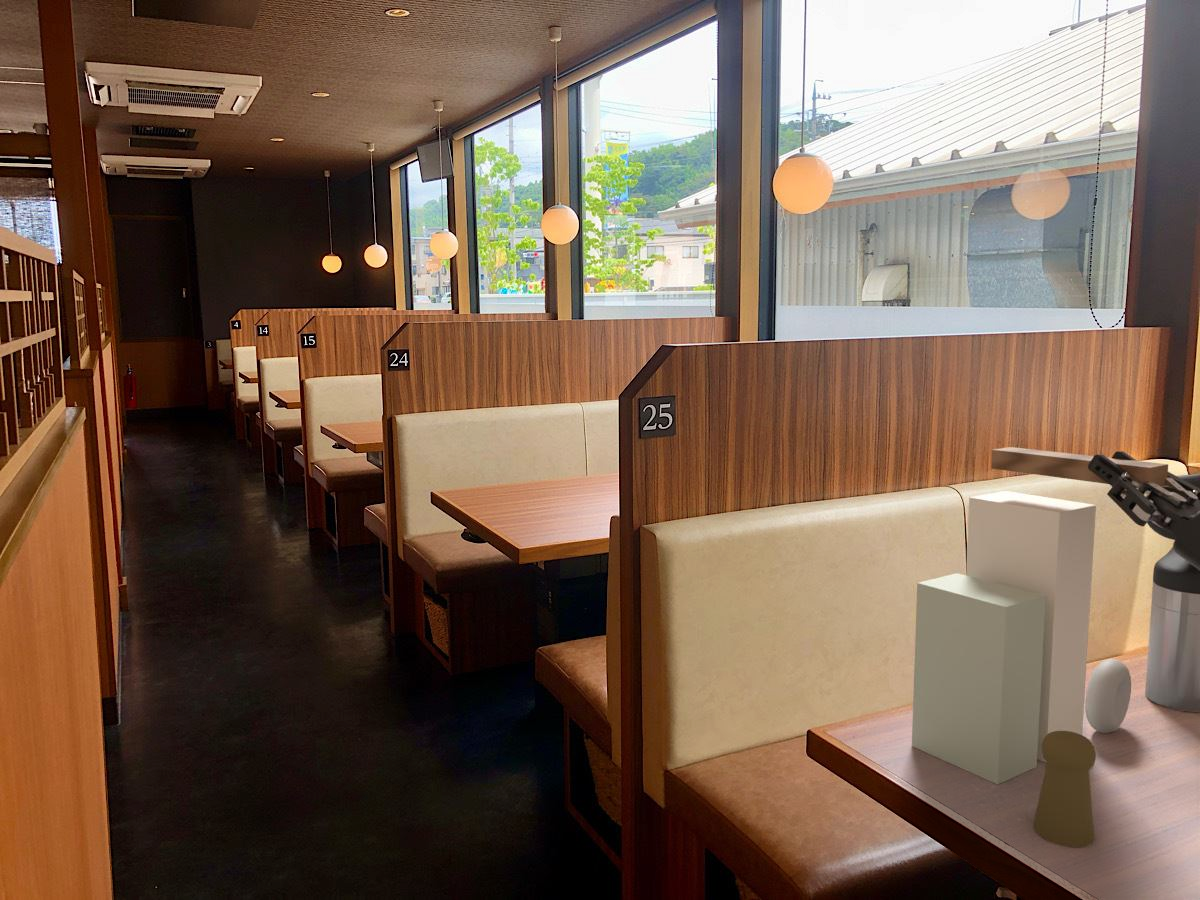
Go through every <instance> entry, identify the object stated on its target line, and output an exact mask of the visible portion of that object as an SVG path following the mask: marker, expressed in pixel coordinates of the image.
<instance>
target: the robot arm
mask: <svg viewBox="0 0 1200 900" xmlns="http://www.w3.org/2000/svg"><path fill="white" fill-rule="evenodd" d="M1093 456H1094V457H1093V458H1092V460H1091V461H1090V463H1089V464H1088V469H1089V470H1090V471H1091V472H1093V473H1094V474H1096V475H1097V476H1098V477H1100V478H1101V479H1102V480H1104V481H1105V482H1107V483H1108V484H1107V485H1109V486H1111V488H1110V489H1109V490H1108V492H1107V496H1108V497H1109V498H1110V499H1111V500H1112V501H1113V502H1114V503H1115V504H1116V506H1118V507H1119V508H1120V509H1121V510H1122V511H1123V512H1124V513H1125V514H1126V515H1127V516H1128V517H1129V519H1130V520H1131V521H1133V523H1135V524H1136V525H1138V526H1140V527H1145V526H1146V524H1147V525H1148V526H1149V528H1150V529H1151V530H1152V531H1154V533H1156V534H1158V535H1160V536H1161V537H1163V538H1165V539H1169V540H1172V541H1173V545H1172V547H1171V549H1170V550H1169V551H1168V552H1167V553H1166V554H1165V555H1164V556H1162V557H1161V558H1159V559H1158V560H1157V561H1156V562H1155V564H1154V567H1153V572H1152V573H1153V574H1152V575H1153V576H1152V587H1151V589H1152V590H1151V606H1150V616H1149V617H1150V620H1149V621H1150V622H1149V634H1148V646H1147V647H1148V648H1147V660H1146V661H1147V662H1146V672H1145V673H1146V674H1145V675H1146V676H1145V688H1144V689H1145V690H1144V693H1145V696H1146V698H1147V699H1149V701H1152V702H1154V703H1155V704H1157V705H1160V706H1163V707H1166V708H1170V709H1173V710H1177V711H1183V712H1190V713H1200V473H1193V474H1182V475H1176V474H1174V473H1171V472H1170V471H1168V477H1167V478H1165V485H1167V486H1163V487H1160V486H1159V485H1157V484H1155V483H1153V482H1152V481H1150V482H1149V481H1145V482H1142V481H1140V480H1139V479H1138V478H1136V477H1135V476H1133V475H1131V474H1130V473H1127V472H1125V470H1123V469H1122V468H1120V467H1119V466H1118V465H1116V464H1115V463H1114V462H1112V461H1111V460H1110V459H1108V458H1109V457H1107V456H1105V455H1104V454H1103V453H1099V454H1094V455H1093ZM1111 458H1114V459H1123V460H1133V461H1138V460H1137V459H1135V458H1134V457H1132V456H1131V455H1129V454H1128V453H1126V452H1125V451H1123V450H1117V451H1115V452H1114V453H1113V455H1112V456H1111ZM1134 485H1135V486H1137V487H1138V488H1136V487H1135V486H1134ZM1145 494H1146V495H1145Z"/></svg>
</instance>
